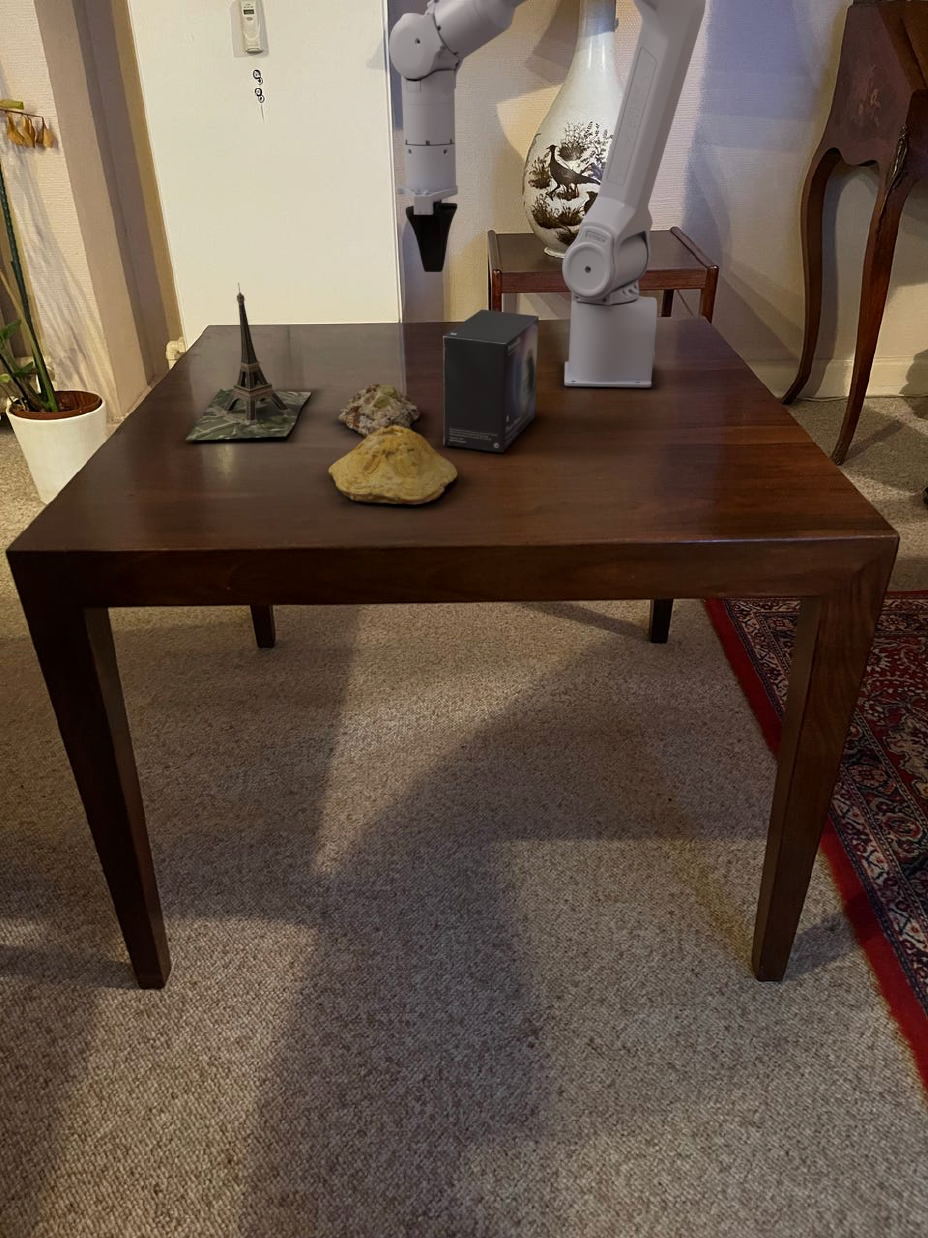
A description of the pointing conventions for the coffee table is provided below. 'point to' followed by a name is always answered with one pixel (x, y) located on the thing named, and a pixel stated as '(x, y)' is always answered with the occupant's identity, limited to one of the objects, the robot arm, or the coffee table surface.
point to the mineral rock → (378, 410)
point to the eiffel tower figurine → (248, 401)
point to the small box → (489, 379)
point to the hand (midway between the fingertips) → (433, 270)
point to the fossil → (393, 469)
